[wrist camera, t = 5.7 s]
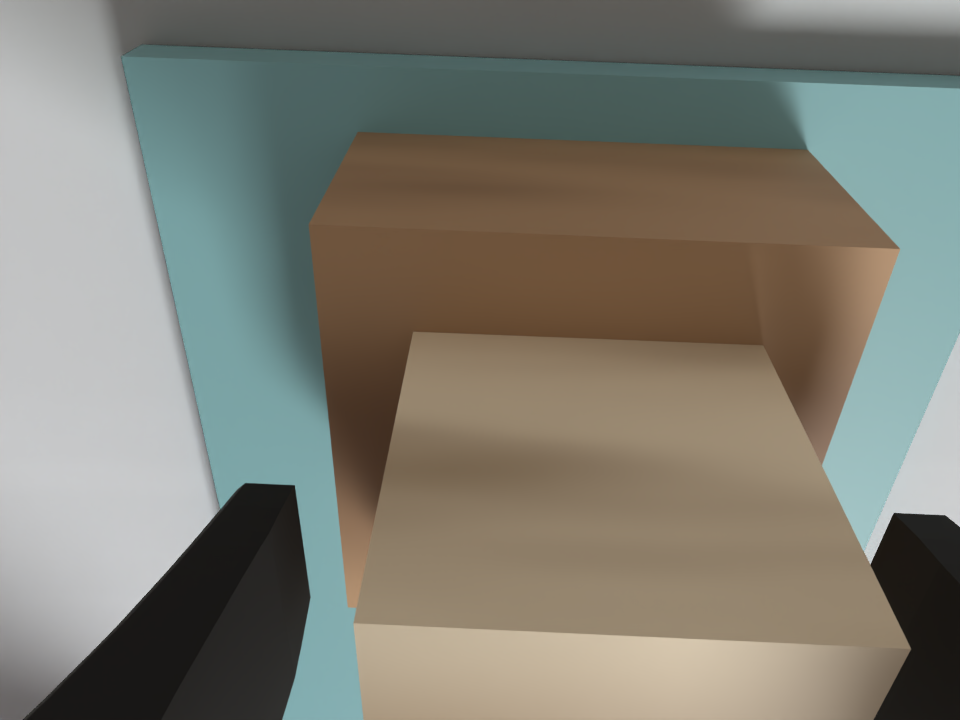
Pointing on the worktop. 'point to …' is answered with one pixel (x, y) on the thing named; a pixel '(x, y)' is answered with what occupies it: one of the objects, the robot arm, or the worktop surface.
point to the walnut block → (580, 270)
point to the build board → (505, 114)
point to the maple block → (612, 543)
